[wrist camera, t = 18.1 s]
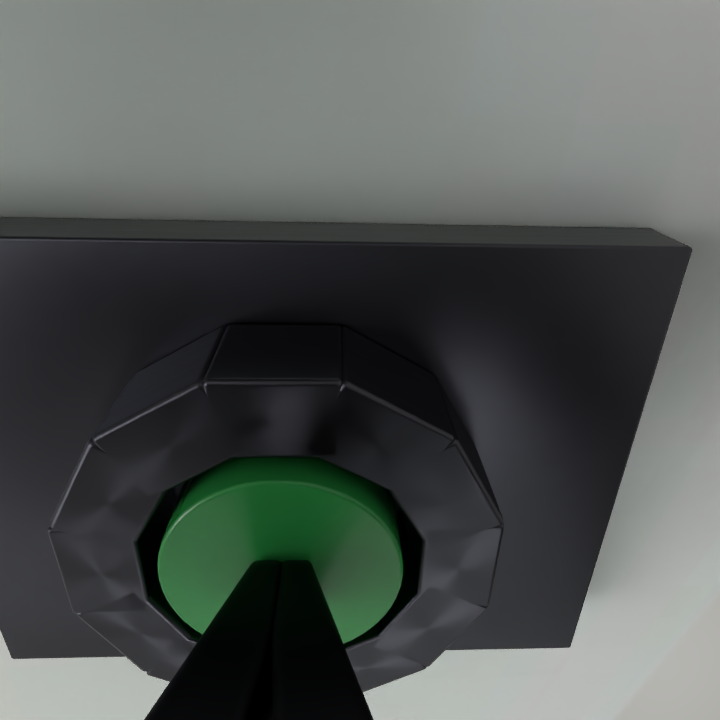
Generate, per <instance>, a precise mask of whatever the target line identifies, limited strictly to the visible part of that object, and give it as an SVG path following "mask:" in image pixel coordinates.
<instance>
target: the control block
mask: <svg viewBox="0 0 720 720" xmlns="http://www.w3.org/2000/svg"><path fill="white" fill-rule="evenodd" d="M691 252H692V248H691V247H690V246H688V245H685V244H683V243H681V242H679V241H677V240H675V239H673V238H670V237H668V236H666V235H664V234H662V233H660V232H658V231H655V230H653V229H651V228H600V227H541V226H483V225H424V224H366V223H307V222H248V221H190V220H131V219H72V218H14V217H0V630H1V633H2V635H3V638H4V640H5V642H6V645H7V647H8V650H9V652H10V655H11V657H12V658H13V659H28V658H78V657H127V658H128V659H129V660H130V661H132V662H133V663H134V664H135V665H136V666H138V667H139V668H140V669H141V670H142V671H147V674H148V675H150V676H153V677H157V678H160V679H163V680H166V681H169V682H170V681H171V680H172V679H173V677H174V676H175V674H176V673H177V671H178V670H179V668H180V667H181V665H182V664H183V662H184V661H185V660H186V658H187V657H188V655H189V654H190V652H191V651H192V649H193V648H194V646H195V645H196V643H197V642H198V641H199V639H200V638H201V636H202V634H201V633H199V632H197V631H196V630H194V629H193V628H192V627H190V626H189V625H188V624H187V623H186V622H184V621H183V620H182V619H181V618H180V617H179V615H178V614H177V613H176V612H175V611H174V610H173V608H172V607H171V605H170V604H169V603H168V601H167V599H166V597H165V595H164V593H163V591H162V588H161V585H160V581H159V577H158V567H157V562H158V552H159V549H160V545H161V542H162V539H163V536H164V534H165V531H166V528H167V526H168V523H169V520H170V518H171V515H172V512H173V510H174V507H175V505H176V502H177V499H178V497H179V494H180V491H181V489H182V486H183V483H184V482H186V481H188V480H190V479H192V478H194V477H196V476H198V475H200V474H202V473H204V472H206V471H208V470H211V469H213V468H215V467H217V466H219V465H221V464H223V463H225V462H227V461H229V460H231V459H233V458H320V459H322V460H324V461H327V462H329V463H331V464H333V465H335V466H337V467H340V468H342V469H344V470H346V471H348V472H350V473H353V474H355V475H357V476H359V477H361V478H364V479H366V480H368V481H370V482H372V483H374V484H377V485H379V486H381V487H383V488H385V489H387V490H389V491H390V493H391V494H392V496H393V497H394V499H395V507H396V514H397V521H398V528H399V535H400V542H401V549H402V556H403V578H402V584H401V587H400V590H399V592H398V595H397V598H396V599H395V601H394V603H393V605H392V606H391V608H390V609H389V611H388V612H387V613H386V614H385V616H384V617H383V618H382V619H381V620H380V621H379V622H378V623H377V624H376V625H375V626H373V627H372V628H371V629H369V630H368V631H367V632H365V633H364V634H362V635H360V636H359V637H357V638H355V639H353V640H351V641H349V642H347V643H345V644H344V647H345V649H346V652H347V654H348V657H349V659H350V662H351V664H352V667H353V669H354V672H355V674H356V677H357V679H358V682H359V685H360V687H361V690H362V692H365V691H367V690H370V689H373V688H375V687H378V686H381V685H383V684H386V683H389V682H391V681H394V680H397V679H399V678H402V677H405V676H407V675H410V674H413V673H415V672H418V671H421V670H423V669H425V668H426V667H428V666H430V665H431V664H432V663H433V662H434V661H435V660H436V659H437V658H438V657H439V656H440V655H441V654H442V653H443V652H444V651H445V650H475V649H525V648H569V647H570V646H571V643H572V639H573V636H574V633H575V629H576V626H577V623H578V620H579V616H580V613H581V610H582V607H583V603H584V600H585V597H586V594H587V590H588V587H589V584H590V581H591V577H592V574H593V571H594V568H595V564H596V561H597V558H598V555H599V551H600V548H601V545H602V542H603V538H604V535H605V532H606V529H607V525H608V522H609V519H610V516H611V512H612V509H613V506H614V503H615V499H616V496H617V493H618V490H619V486H620V483H621V480H622V477H623V473H624V470H625V467H626V464H627V460H628V457H629V454H630V451H631V447H632V444H633V441H634V438H635V434H636V431H637V428H638V425H639V421H640V418H641V415H642V412H643V408H644V405H645V402H646V399H647V395H648V392H649V389H650V386H651V382H652V379H653V376H654V373H655V369H656V366H657V363H658V360H659V356H660V353H661V350H662V347H663V343H664V340H665V337H666V334H667V330H668V327H669V324H670V320H671V317H672V314H673V311H674V307H675V304H676V301H677V298H678V294H679V291H680V288H681V285H682V281H683V278H684V275H685V272H686V268H687V265H688V262H689V259H690V255H691Z"/></svg>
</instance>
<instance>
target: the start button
mask: <svg viewBox="0 0 720 720" xmlns="http://www.w3.org/2000/svg"><path fill="white" fill-rule="evenodd" d="M260 560H277V561H279V562H281V564H282V563H283V562H284V561H286V560H308V561H310V562H311V564H312V566H313V568H314V570H315V573H316V576H317V578H318V581H319V583H320V586H321V588H322V591H323V593H324V596H325V598H326V601H327V603H328V606H329V609H330V611H331V614H332V616H333V619H334V621H335V624H336V626H337V629H338V631H339V634H340V636H341V639H342V641H343V644H345V643H347V642H349V641H351V640H353V639H355V638H357V637H359V636H360V635H362V634H364V633H365V632H367V631H368V630H369V629H371V628H372V627H373V626H375V625H376V624H377V623H378V622H379V621H380V620H381V619H382V618H383V617H384V616H385V614H386V613H387V612H388V611H389V609H390V608H391V606H392V605H393V603H394V601H395V599H396V598H397V595H398V592H399V590H400V587H401V584H402V578H403V556H402V549H401V542H400V535H399V528H398V521H397V514H396V507H395V499H394V497H393V496H392V494H391V493H390V491H389V490H387V489H385V488H383V487H381V486H379V485H377V484H374V483H372V482H370V481H368V480H366V479H364V478H361V477H359V476H357V475H355V474H353V473H350V472H348V471H346V470H344V469H342V468H340V467H337V466H335V465H333V464H331V463H329V462H327V461H324V460H322V459H320V458H233V459H231V460H229V461H227V462H225V463H223V464H221V465H219V466H217V467H215V468H213V469H211V470H208V471H206V472H204V473H202V474H200V475H198V476H196V477H194V478H192V479H190V480H188V481H186V482H184V483H183V486H182V489H181V491H180V494H179V497H178V499H177V502H176V505H175V507H174V510H173V512H172V515H171V518H170V520H169V523H168V526H167V528H166V531H165V534H164V536H163V539H162V542H161V545H160V549H159V552H158V562H157V567H158V577H159V581H160V585H161V588H162V591H163V593H164V595H165V597H166V599H167V601H168V603H169V604H170V605H171V607H172V608H173V610H174V611H175V612H176V613H177V614H178V615H179V617H180V618H181V619H182V620H183V621H184V622H186V623H187V624H188V625H189V626H190V627H192V628H193V629H194V630H196V631H197V632H199V633H201V634H202V635H203V633H204V632H205V630H206V629H207V627H208V626H209V624H210V623H211V622H212V620H213V619H214V617H215V616H216V614H217V613H218V611H219V610H220V608H221V607H222V605H223V604H224V603H225V601H226V600H227V598H228V597H229V595H230V594H231V592H232V591H233V589H234V588H235V586H236V585H237V584H238V582H239V581H240V579H241V578H242V576H243V575H244V573H245V572H246V570H247V569H248V567H249V566H250V565H251V564H252V563H253V562H254V561H260Z"/></svg>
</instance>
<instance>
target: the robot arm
mask: <svg viewBox="0 0 720 720" xmlns="http://www.w3.org/2000/svg"><path fill="white" fill-rule="evenodd" d="M144 720H373V717H372V715H371V712H370V710H369V707H368V705H367V702H366V700H365V697H364V695H363V692H362V690H361V687H360V685H359V682H358V679H357V677H356V674H355V672H354V669H353V667H352V664H351V662H350V659H349V657H348V654H347V652H346V649H345V647H344V644H343V641H342V639H341V636H340V634H339V631H338V629H337V626H336V624H335V621H334V619H333V616H332V614H331V611H330V609H329V606H328V603H327V601H326V598H325V596H324V593H323V591H322V588H321V586H320V583H319V581H318V578H317V576H316V573H315V570H314V568H313V566H312V564H311V562H310V561H308V560H286V561H284V562H283V563H282V564H281V562H279V561H277V560H260V561H254V562H253V563H252V564H251V565H250V566H249V567H248V569H247V570H246V572H245V573H244V575H243V576H242V578H241V579H240V581H239V582H238V584H237V585H236V586H235V588H234V589H233V591H232V592H231V594H230V595H229V597H228V598H227V600H226V601H225V603H224V604H223V605H222V607H221V608H220V610H219V611H218V613H217V614H216V616H215V617H214V619H213V620H212V622H211V623H210V624H209V626H208V627H207V629H206V630H205V632H204V633H203V635H202V636H201V638H200V639H199V641H198V642H197V643H196V645H195V646H194V648H193V649H192V651H191V652H190V654H189V655H188V657H187V658H186V660H185V661H184V662H183V664H182V665H181V667H180V668H179V670H178V671H177V673H176V674H175V676H174V677H173V679H172V680H171V681H170V683H169V684H168V686H167V687H166V689H165V690H164V692H163V693H162V695H161V696H160V698H159V699H158V700H157V702H156V703H155V705H154V706H153V708H152V709H151V711H150V712H149V714H148V715H147V716H146V718H145V719H144Z"/></svg>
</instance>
